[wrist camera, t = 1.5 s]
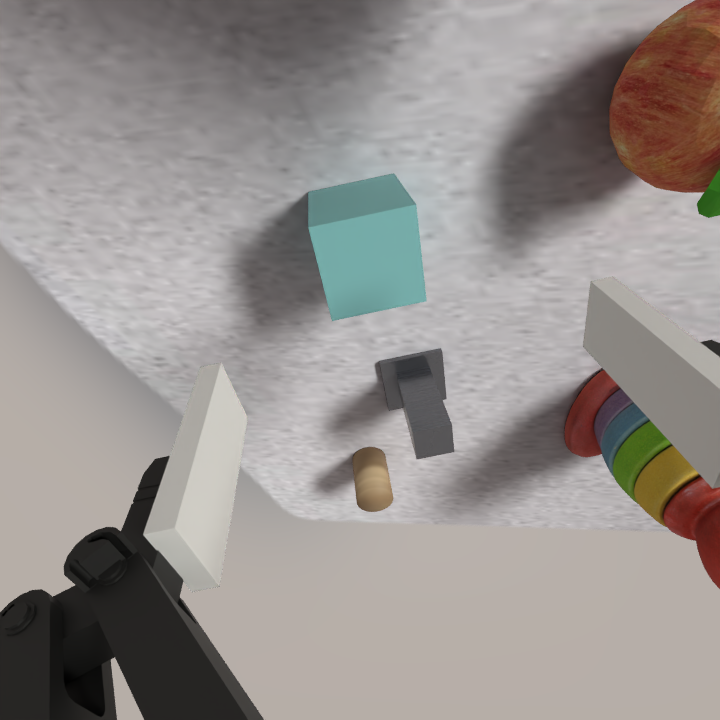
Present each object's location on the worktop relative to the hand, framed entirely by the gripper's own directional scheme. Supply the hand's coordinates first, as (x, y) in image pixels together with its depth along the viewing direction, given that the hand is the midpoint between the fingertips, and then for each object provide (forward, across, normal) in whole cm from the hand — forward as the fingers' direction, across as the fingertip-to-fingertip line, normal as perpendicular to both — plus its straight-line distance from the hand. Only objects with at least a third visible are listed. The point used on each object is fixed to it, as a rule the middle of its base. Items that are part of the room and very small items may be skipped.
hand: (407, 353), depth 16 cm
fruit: (+15, +18, +4) cm, 23 cm away
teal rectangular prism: (+14, 0, 0) cm, 15 cm away
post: (+14, +1, -13) cm, 20 cm away
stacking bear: (+15, +19, -20) cm, 32 cm away
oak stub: (+14, -4, -21) cm, 26 cm away
